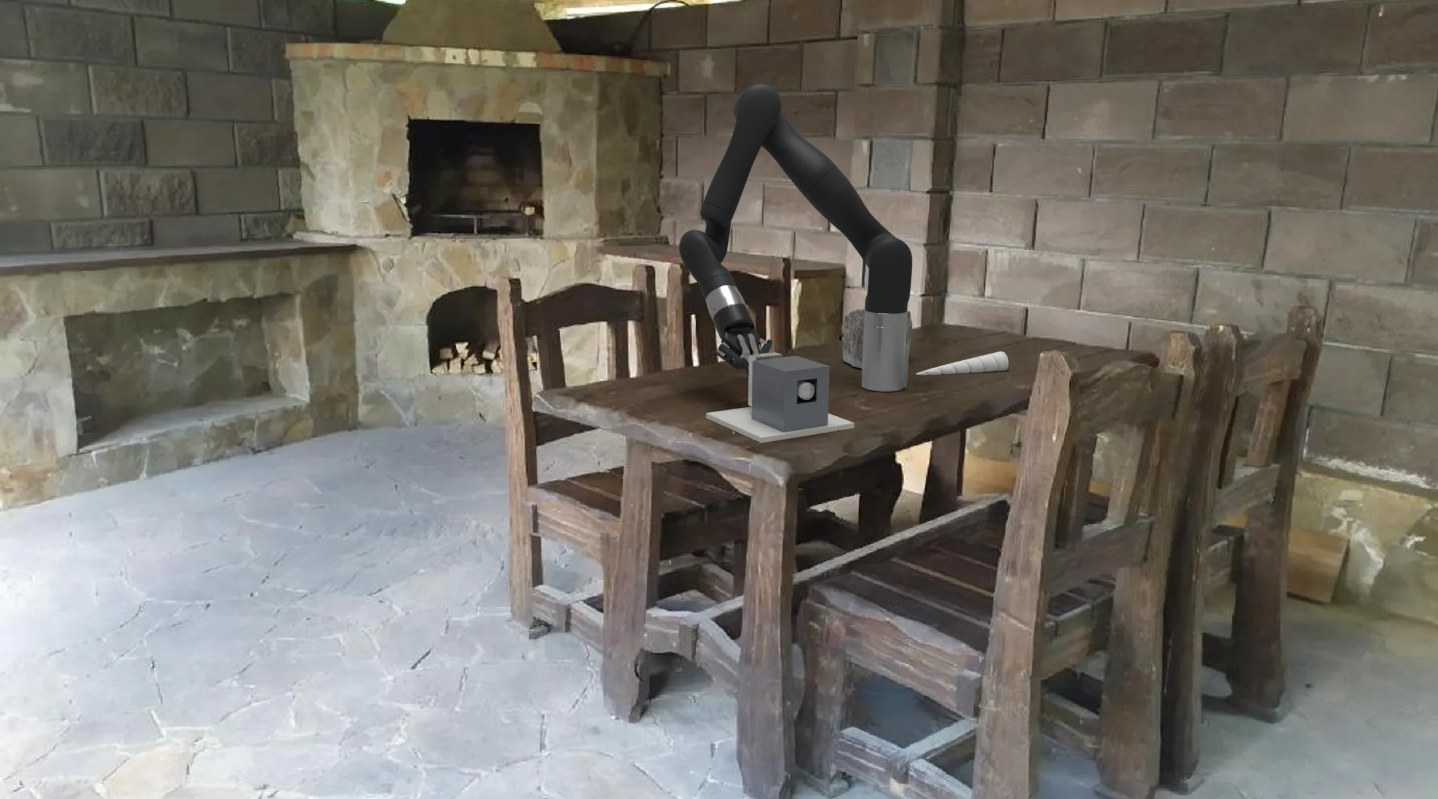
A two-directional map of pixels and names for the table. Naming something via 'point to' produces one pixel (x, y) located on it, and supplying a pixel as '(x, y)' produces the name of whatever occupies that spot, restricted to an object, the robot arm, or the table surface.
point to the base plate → (762, 433)
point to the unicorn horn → (972, 365)
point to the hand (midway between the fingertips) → (760, 383)
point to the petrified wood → (861, 336)
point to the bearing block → (789, 393)
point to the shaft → (803, 387)
